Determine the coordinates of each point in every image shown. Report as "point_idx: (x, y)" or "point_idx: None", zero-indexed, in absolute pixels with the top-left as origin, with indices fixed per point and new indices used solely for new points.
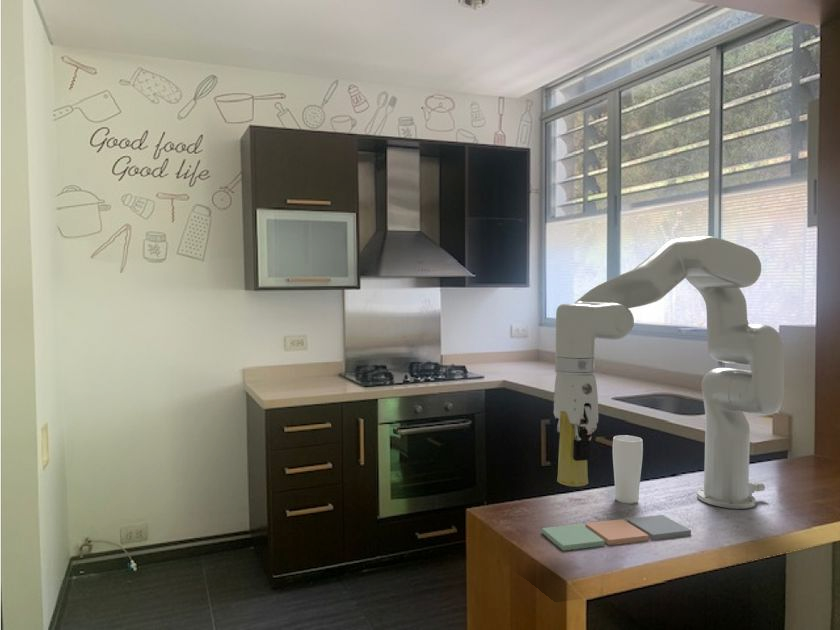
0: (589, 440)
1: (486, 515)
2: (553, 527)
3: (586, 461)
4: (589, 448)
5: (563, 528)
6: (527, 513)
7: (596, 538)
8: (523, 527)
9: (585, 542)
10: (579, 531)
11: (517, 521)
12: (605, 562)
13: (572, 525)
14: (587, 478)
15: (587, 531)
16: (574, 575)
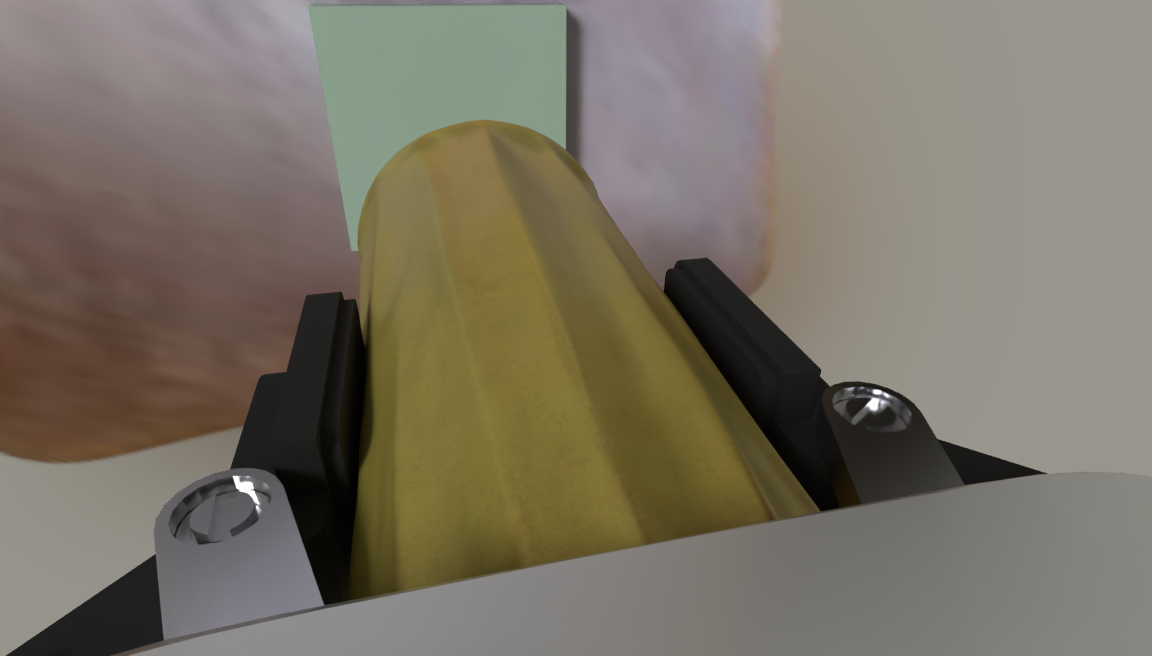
0: (810, 364)
1: (88, 418)
2: (350, 191)
3: (623, 236)
4: (759, 309)
5: (370, 145)
6: (34, 214)
7: (531, 35)
8: (270, 299)
9: (560, 119)
10: (425, 79)
11: (180, 303)
12: (708, 104)
13: (331, 74)
14: (560, 157)
15: (433, 32)
16: (748, 268)
